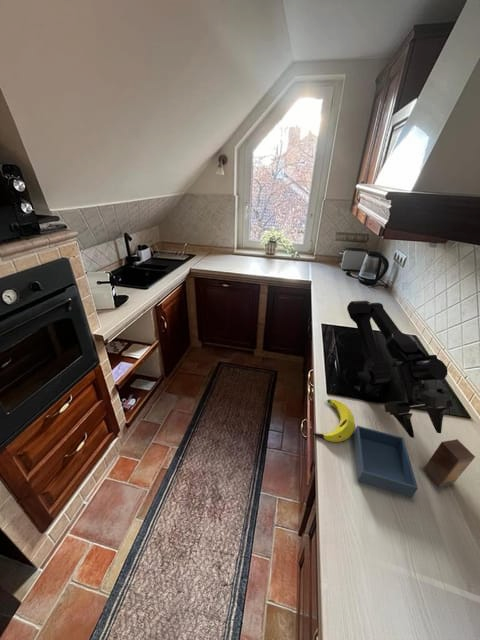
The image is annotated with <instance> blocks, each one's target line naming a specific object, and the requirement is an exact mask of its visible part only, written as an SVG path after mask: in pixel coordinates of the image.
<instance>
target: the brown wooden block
mask: <svg viewBox="0 0 480 640" xmlns="http://www.w3.org/2000/svg"><path fill="white" fill-rule="evenodd" d="M475 458H476V456H475V455H474V454H473V453H472V452H471V451H470V450H469V449H468V448H467V447H466V446H465V445H464V444H463V443H462V442H461V441H460V440H459V439H457V438H456V439H450V440H444V441H440V443H439V445H438V447H437V448H436V449H435V451H434V453H433V454H432V455H431V457H430V458H429V460H428V462H427V463H426V465H425V466H424V467H423V468H422V470H423V471H424V473H425V474H426V475H427V477H428V478H429V479H430V480H431V481H432V483H433V484H434V485H435V486H436V487H437V488H442V487H447V486H452V485H454V484H455V482H456V481H457V480H458V479H459V477H460V476H461V475H462V474H463V473H464V471H465V470H466V469H467V468H468V466H470V464H471V463H472V462H473V460H474V459H475Z"/></svg>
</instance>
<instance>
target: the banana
mask: <svg viewBox="0 0 480 640" xmlns="http://www.w3.org/2000/svg"><path fill="white" fill-rule="evenodd" d="M326 401H327V403H328V404H329V405H331V406H332V407H333V408H334V409H335V411H336V412H337V413H338V415H339V418H340V421H339V424H338V425H337V427H336V428H335V429H334V430H333V431H331V432H329V433H318V432H313V434H312V435H314V436H316V437H317V438H318V439H324V440H326V441H327V442H329V443H341V442H343V441H346V440H348V439H349V438H350V437H351V436H353V434H354V432H355V429H356V423H355V418H354V414H353V413H352V411H351V409H350V408H349V407H348V406H347V405H346V404H345V403H344V402H342V401H340V400H337V399H327V400H326Z"/></svg>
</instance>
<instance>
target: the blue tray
mask: <svg viewBox="0 0 480 640" xmlns="http://www.w3.org/2000/svg"><path fill="white" fill-rule="evenodd" d="M352 436H353V446H354V447H353V448H354V458H355V467H356V468H355V469H356V480H357V482H358V483H361V484H364V485H368V486H371V487H374V488H378V489H381V490H384V491H387V492H391V493H393V494H397V495H400V496H403V497H407V498H410V499H412V498H413V496H414V495H415V494H416V492H417V490H418V489H419V487H418V483H417V481H416V477H415V473H414V470H413V466H412V463H411V460H410V456H409V453H408V448H407V445H406V442H405V438H404V437H403V436H398V435H395V434H391V433H387V432H384V431H380V430H376V429H372V428H368V427H364V426H360V425H356V426H355V428H354V431H353V433H352Z"/></svg>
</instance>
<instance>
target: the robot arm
mask: <svg viewBox="0 0 480 640" xmlns="http://www.w3.org/2000/svg"><path fill="white" fill-rule="evenodd" d="M348 303H349V304H348V305H347V307H346V310H347V313H348V315H349V316H348V317H349V318H350V319H351V320H352V322H354V323H355V324H356V328H357V331H358V335H359V339H360V343H361V346H362V350H363V354H364V357H365V362H364V364H363V371H358V372H357V378H358V380H359V382H358V385H357V386H354V390H355V391H357V392H358V394H359V395H360V396H361V397H363V399H365V400H370V399H375V398H377V397H379V396H380V394H379V392H380V389H381V388H380V387H381V384H386V383H389V382H390V381H391V379H392V373H393V371H392V369H391V368H397V373H398V376H399V380H400V384H398V388H399V389H402V392H403V393H402V394H403V396H404V397H403V398H401V399H402V401H399V400H398V401H397V400H396V401H394V400H393V401H388V402H385V403H384V406H383V407H384V411H385V413H389V415H391V416H393V417H394V418H395V419H396V420H397V422H398V423H399V424H400V425H401V427H402V428H403V430H404V431H405V433H407V435H408V436H409V438H412V439H414V438H415V432H414V428H413V424H412V419H411V418H412V416H413V412H411V409H418V408H419V409H420V408H425V410H426V413H427V415H428V417H429V419H430V422H431V424H432V426H433V428H434V430H435V433H437V434H442V431H443V430H442V429H443V421H444V416H445V413H447V411H449V410H450V409H451V407H453V406H454V405H453V401H452V398H451V393H450V392H449V389H448V388H446V387H437V389H431V388H430V386H429V384H428V383H427V382H424V381H439V380H440V381H441V380H444V379H446V378H447V376H448V373H449V372H448V367H447V365H446V364H445V363H444V362H443V361H442V360H441V359H439V358H438V356H437V355H436V354H429V355H427V353H425V352H424V351H423V350H422V348H420V347H419V345H418V344H417V343H416V341H415V340H414V339H412V337H411V336H409V335H407V334H406V333H404V332H402V331H401V330H400V329H399V328H398V326H397V325H396V323H395V322H394V321H393V319H392V318H391V317H390V315H389V314H388V313H387V311H386V310H385V308H384V305H383V303H381V302H370V301H368V300H351V301H350V302H348ZM371 319H372V321H373V322H374V324H375V325H376V326H377V327H376V328H378V330H379V331H380V333H381V334H382V335H383V337H384V339H385V347H386V350H387V351H388V354H389V355H390V357H391V358H392V359H394V362H393V363H392V365H391V366H390V362H389V361H388V360H384V359H383V358H382V357H381V354H380V351H379V348H378V344H377V340H376V337H375V333H374V329H373V326H372V323H371Z"/></svg>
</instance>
